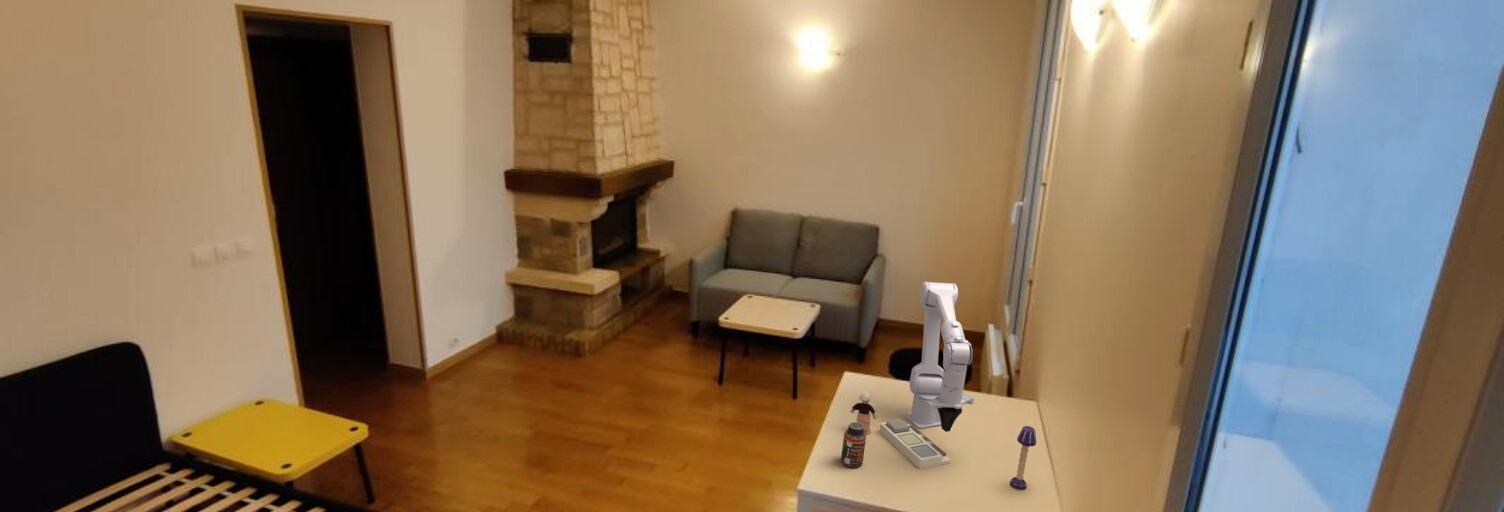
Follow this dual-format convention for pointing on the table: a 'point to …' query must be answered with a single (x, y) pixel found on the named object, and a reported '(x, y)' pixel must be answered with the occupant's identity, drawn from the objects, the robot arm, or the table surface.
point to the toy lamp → (1023, 455)
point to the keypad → (907, 450)
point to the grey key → (897, 426)
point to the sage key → (910, 439)
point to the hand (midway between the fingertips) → (945, 429)
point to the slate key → (923, 451)
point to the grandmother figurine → (864, 411)
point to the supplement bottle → (853, 445)
